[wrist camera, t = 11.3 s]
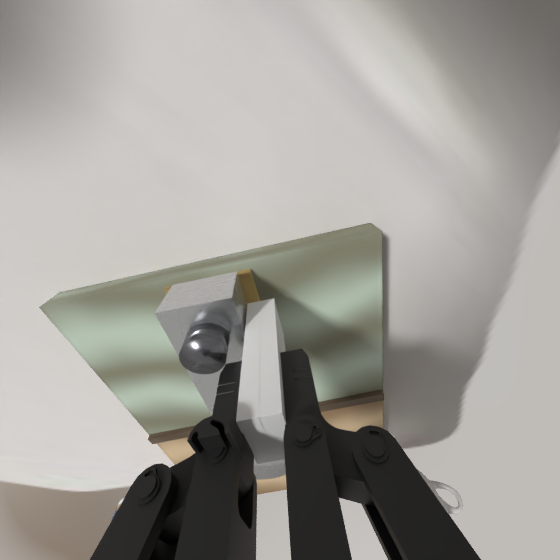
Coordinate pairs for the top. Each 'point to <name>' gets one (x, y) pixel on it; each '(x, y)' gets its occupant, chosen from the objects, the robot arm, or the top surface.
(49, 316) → the door board
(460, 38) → the top surface
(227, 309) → the latch arm
